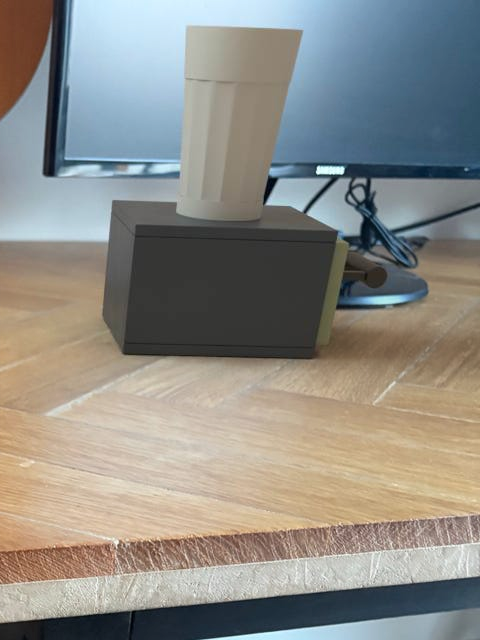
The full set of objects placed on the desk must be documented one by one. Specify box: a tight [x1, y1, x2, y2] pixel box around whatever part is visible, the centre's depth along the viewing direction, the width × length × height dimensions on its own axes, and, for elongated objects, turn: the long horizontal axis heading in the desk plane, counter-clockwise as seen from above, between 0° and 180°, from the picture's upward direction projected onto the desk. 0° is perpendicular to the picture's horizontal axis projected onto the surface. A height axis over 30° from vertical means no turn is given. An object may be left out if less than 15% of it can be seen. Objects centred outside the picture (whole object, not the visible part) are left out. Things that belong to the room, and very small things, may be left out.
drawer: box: [316, 237, 388, 346], centre depth 78 cm, size 18×10×7 cm, turn 93°
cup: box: [176, 24, 304, 221], centre depth 72 cm, size 8×8×12 cm
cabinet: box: [101, 199, 339, 359], centre depth 77 cm, size 15×12×9 cm
